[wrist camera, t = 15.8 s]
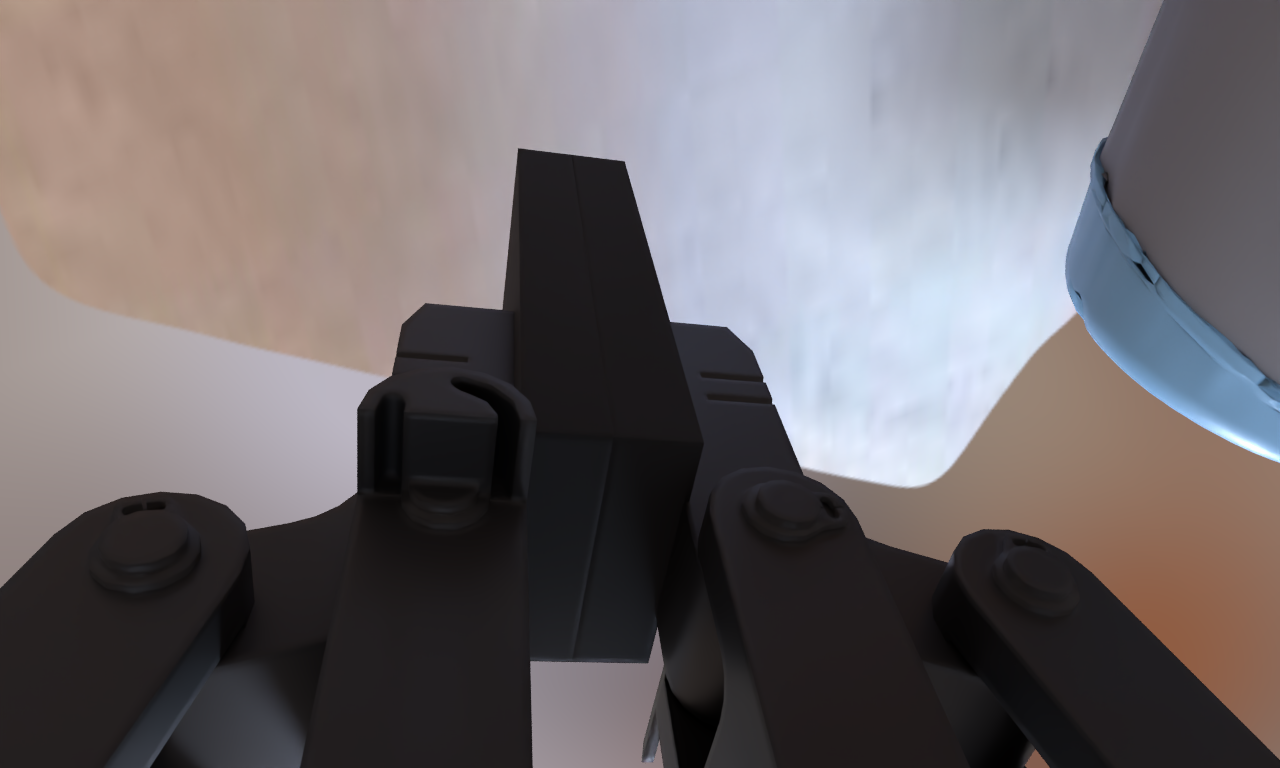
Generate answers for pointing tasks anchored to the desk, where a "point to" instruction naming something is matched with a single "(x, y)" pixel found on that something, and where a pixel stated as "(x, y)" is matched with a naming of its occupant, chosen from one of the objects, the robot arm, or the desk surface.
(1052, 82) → the desk surface
